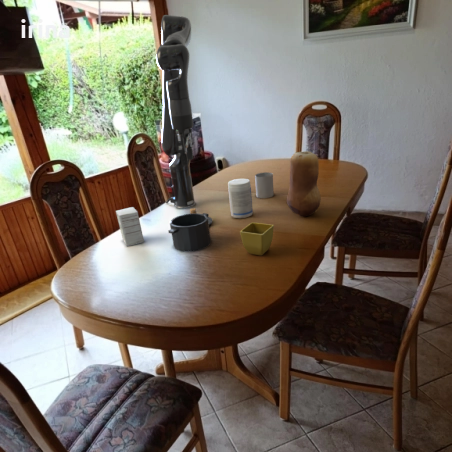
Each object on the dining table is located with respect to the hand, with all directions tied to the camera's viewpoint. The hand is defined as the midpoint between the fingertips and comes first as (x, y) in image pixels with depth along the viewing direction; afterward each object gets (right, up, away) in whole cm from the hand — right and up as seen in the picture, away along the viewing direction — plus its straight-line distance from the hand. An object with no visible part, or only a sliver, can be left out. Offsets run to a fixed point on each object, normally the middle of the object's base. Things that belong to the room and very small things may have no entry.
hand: (187, 161), depth 146 cm
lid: (+1, -18, +23) cm, 29 cm away
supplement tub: (+21, -14, +28) cm, 37 cm away
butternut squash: (+46, -15, +21) cm, 53 cm away
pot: (+1, -29, +6) cm, 30 cm away
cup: (+33, 0, +48) cm, 58 cm away
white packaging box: (-23, -27, +14) cm, 38 cm away
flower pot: (+25, -34, -6) cm, 43 cm away
